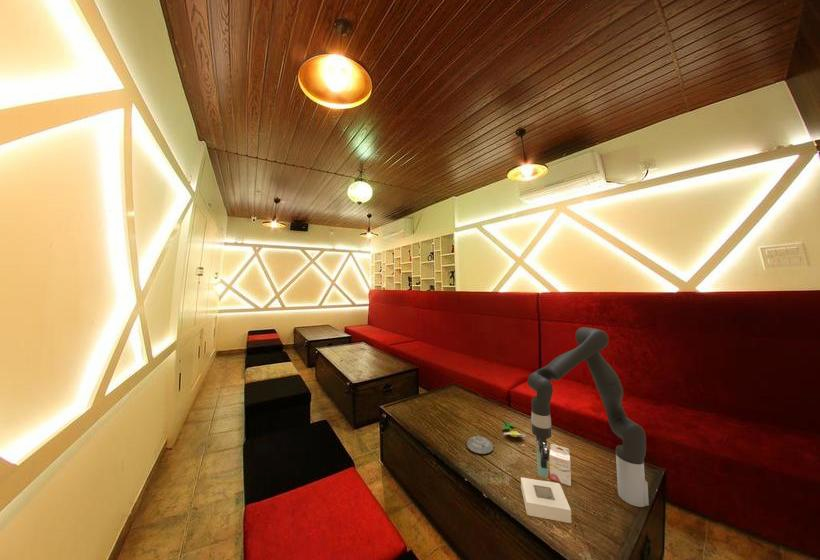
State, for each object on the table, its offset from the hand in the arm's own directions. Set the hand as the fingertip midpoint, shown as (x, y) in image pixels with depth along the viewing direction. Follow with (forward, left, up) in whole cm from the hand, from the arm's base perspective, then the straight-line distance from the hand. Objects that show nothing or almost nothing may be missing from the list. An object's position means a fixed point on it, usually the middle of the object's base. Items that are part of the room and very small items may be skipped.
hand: (542, 463), depth 108 cm
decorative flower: (+7, -55, -17) cm, 58 cm away
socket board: (0, 0, -17) cm, 17 cm away
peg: (0, 0, -4) cm, 4 cm away
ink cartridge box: (-11, -17, -17) cm, 26 cm away
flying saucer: (+26, -34, -17) cm, 46 cm away
